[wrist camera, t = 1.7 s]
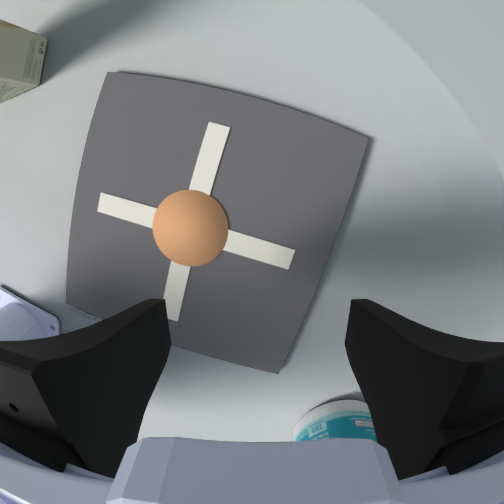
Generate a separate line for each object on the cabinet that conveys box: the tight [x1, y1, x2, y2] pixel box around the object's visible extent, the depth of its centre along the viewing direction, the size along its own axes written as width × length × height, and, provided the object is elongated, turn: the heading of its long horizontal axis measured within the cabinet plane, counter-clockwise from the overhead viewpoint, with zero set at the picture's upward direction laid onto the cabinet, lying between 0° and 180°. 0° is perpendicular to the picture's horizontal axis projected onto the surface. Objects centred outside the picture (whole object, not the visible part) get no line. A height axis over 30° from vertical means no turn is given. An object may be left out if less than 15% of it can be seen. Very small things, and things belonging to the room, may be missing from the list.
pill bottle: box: [293, 400, 378, 444], centre depth 15 cm, size 8×7×14 cm
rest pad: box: [66, 72, 369, 374], centre depth 17 cm, size 16×16×1 cm
